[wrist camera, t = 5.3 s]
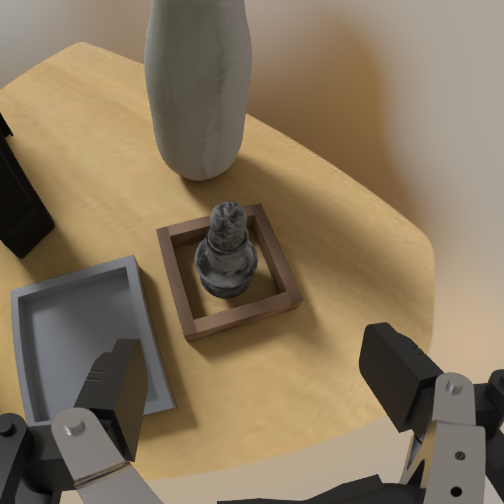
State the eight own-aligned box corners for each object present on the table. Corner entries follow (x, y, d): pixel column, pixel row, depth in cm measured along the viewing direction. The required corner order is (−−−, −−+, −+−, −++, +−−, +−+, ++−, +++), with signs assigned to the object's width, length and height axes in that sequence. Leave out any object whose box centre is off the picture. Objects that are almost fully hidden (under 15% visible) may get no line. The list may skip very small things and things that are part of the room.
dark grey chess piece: (264, 266, 34) (285, 195, 23) (234, 311, 31) (243, 254, 20) (217, 239, 35) (218, 161, 24) (185, 281, 32) (170, 212, 21)
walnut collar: (187, 342, 29) (184, 336, 27) (159, 241, 34) (156, 229, 32) (297, 307, 32) (303, 299, 30) (258, 216, 37) (260, 203, 34)
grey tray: (42, 432, 22) (29, 433, 20) (21, 299, 29) (10, 290, 26) (177, 407, 26) (173, 407, 24) (138, 265, 32) (133, 254, 30)
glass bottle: (254, 170, 40) (291, -54, 15) (185, 208, 36) (170, -52, 12) (211, 129, 43) (219, -64, 18) (147, 159, 39) (119, -52, 15)
